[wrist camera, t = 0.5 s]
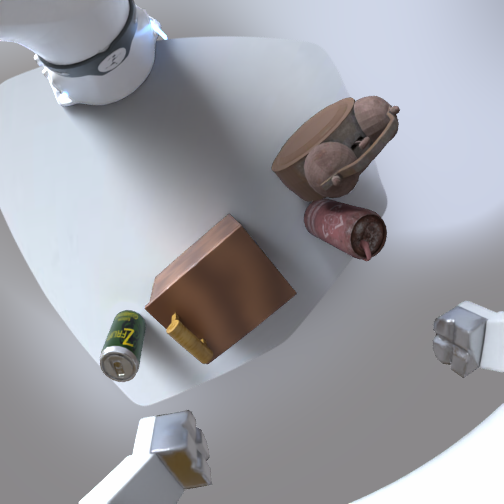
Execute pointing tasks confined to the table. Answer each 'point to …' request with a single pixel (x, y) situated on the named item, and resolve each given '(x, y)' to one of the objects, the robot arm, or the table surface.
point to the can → (346, 227)
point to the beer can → (123, 346)
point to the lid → (221, 297)
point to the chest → (193, 254)
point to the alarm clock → (335, 147)
